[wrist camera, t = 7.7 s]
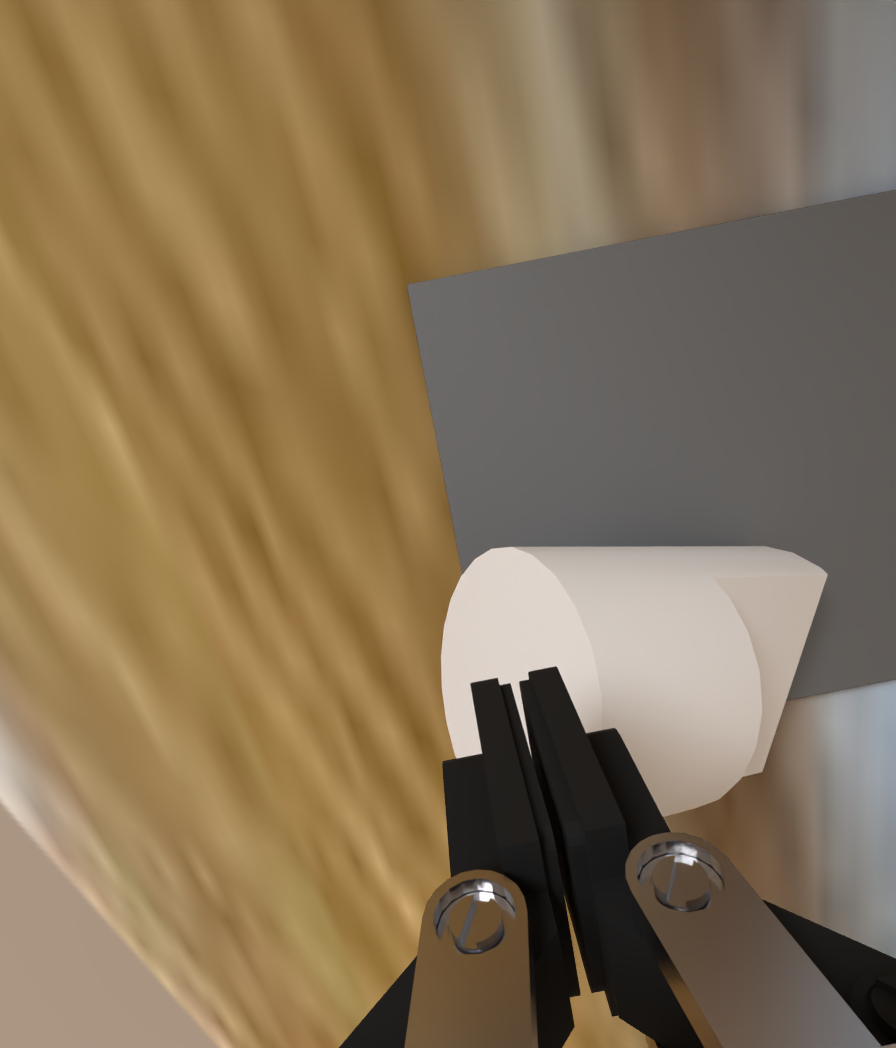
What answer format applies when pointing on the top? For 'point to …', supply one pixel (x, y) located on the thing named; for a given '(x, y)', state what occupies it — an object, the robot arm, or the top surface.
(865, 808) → the top surface
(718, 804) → the top surface
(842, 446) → the mat
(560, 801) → the robot arm
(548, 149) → the top surface
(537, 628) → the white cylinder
